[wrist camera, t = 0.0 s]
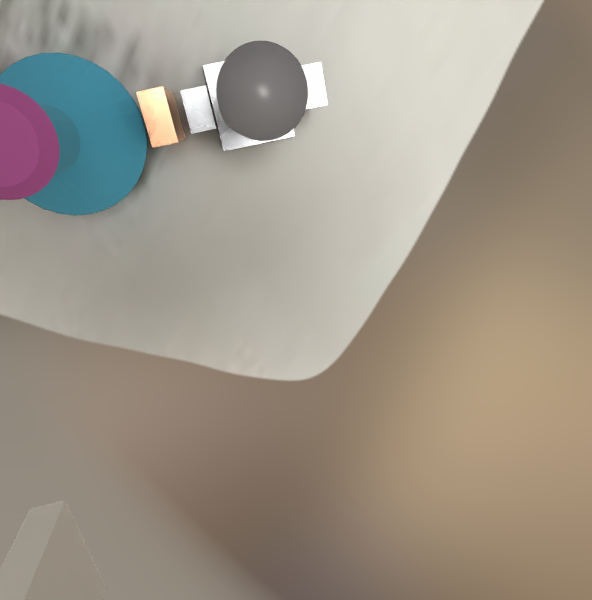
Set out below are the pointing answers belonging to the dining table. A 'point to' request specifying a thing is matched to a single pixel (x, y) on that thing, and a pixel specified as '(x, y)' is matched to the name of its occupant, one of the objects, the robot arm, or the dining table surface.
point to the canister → (262, 91)
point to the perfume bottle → (68, 135)
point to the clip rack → (209, 109)
